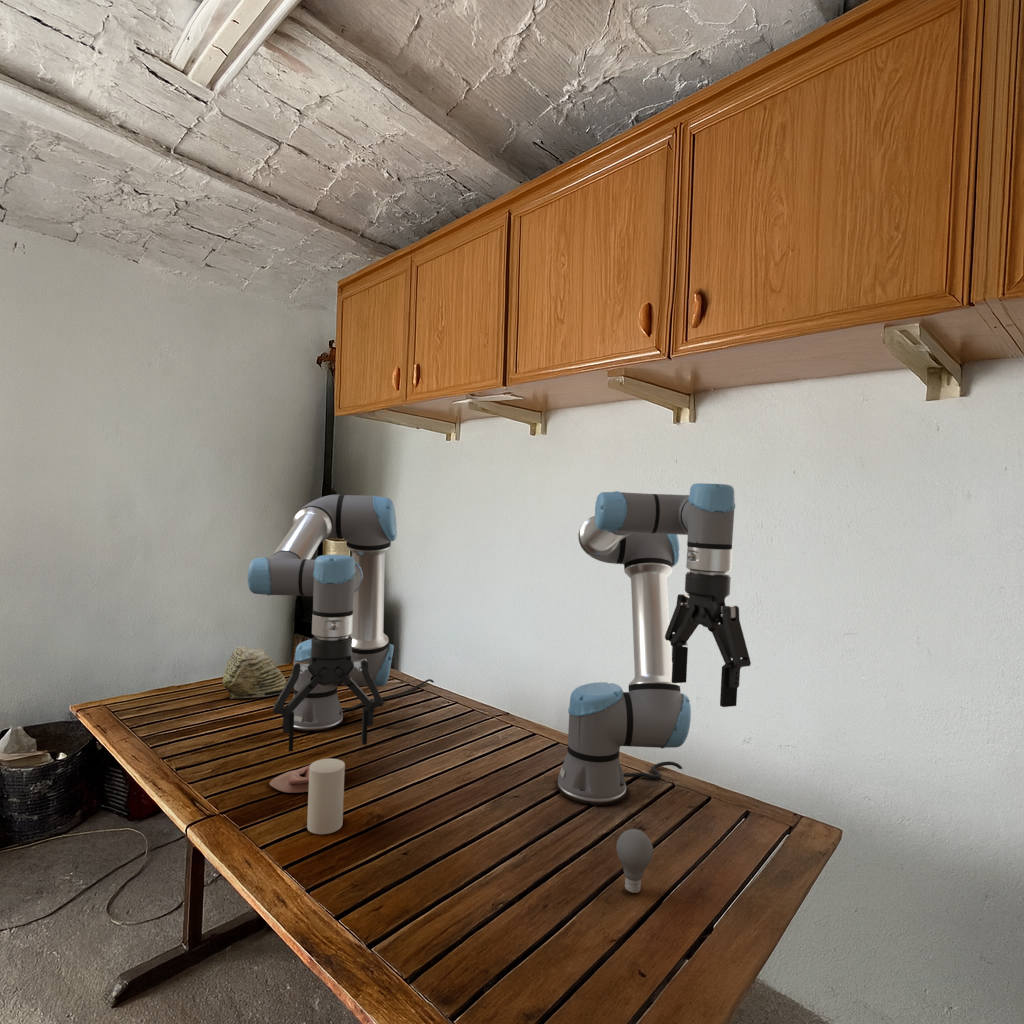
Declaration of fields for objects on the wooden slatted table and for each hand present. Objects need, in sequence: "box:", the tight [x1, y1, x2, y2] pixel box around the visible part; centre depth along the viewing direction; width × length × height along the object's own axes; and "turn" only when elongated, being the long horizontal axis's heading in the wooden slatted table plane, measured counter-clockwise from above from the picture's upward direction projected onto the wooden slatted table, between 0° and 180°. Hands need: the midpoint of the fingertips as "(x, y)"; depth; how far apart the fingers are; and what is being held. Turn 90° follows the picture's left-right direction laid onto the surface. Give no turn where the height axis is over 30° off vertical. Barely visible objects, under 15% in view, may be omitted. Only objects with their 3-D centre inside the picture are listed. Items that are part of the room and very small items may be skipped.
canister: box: [306, 758, 346, 835], centre depth 122 cm, size 7×7×12 cm
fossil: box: [222, 646, 287, 699], centre depth 198 cm, size 9×18×15 cm, turn 132°
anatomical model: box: [269, 764, 311, 794], centre depth 140 cm, size 13×4×12 cm
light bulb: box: [615, 828, 654, 894], centre depth 106 cm, size 6×6×10 cm
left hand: (328, 745), depth 122 cm, fingers open, 13 cm apart
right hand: (702, 693), depth 111 cm, fingers open, 13 cm apart
